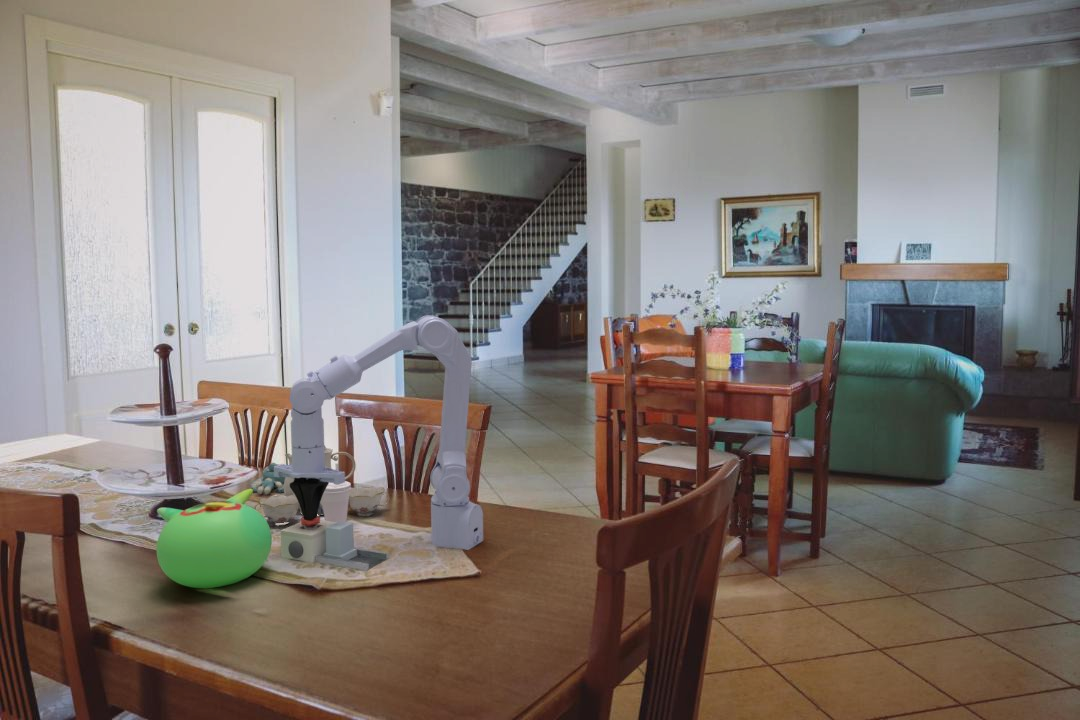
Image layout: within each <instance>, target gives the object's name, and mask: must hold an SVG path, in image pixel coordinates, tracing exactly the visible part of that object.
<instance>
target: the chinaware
mask: <svg viewBox="0 0 1080 720" xmlns="http://www.w3.org/2000/svg"><path fill="white" fill-rule="evenodd" d="M324 449H325V450H324V451H325V467H327V468H331V469H332V460H333V461H335V462H337V461H339V457H338V456H337V455H343V456H344V455H345V456H347V457H348V458H349V459H350V460H351V462H352V468H351V471H349V472H350V473H349V474H348V475H345V481H347V482H349V481H348V479H350V478H351V477H352V476H353V475H354V473H355V471H356V460H355V458H354V457H353V456H352V455H351V454H350V453H348V452H346V451H336V452H334V453H333V451H334V450H333V449H331V448H327V447H326V445H325V444H324ZM284 456H285V457H286V458H287V459H288V465H292V453H291V454H290V453H285V454H284ZM292 482H294V478H290V477H286V478H285V481H284V492H283V493H284V494H277V493H276V494H273V495H270V496H269V497H268V498H264V497H263V498H260V499H258V502H259V503H257V504H256V505H255V506H254V508H253V509H255V510H256V508H257V506H259V507H260V508H262V511H263V513H264V515H265V516H264V515H263V517H264V518H267V519H266V521H267V523H268V522H273V523H275V522H276V523H284V522H290V520H292V519H293V518H294V517H295V516H296V514H297V513H298V510H299V513H300V512H301V513H302V511H301V508H300V505H299V502H298V500H297V498H296V496H295V494H294V492H293V491H292V490H291V488H290V483H292ZM385 494H386V495H387V501H386V502H385V503H383V504H381V500H382V497H383V496H384V495H385ZM389 502H390V495H389V493H388V492H387V491H385V487H381V486H380V487H375V486H373V485H368V484H367V485H362V486H360V487H358V488H357V487H356V488H355V487H351V489H350V490H349V501H348V505H349V506H350V507H351V508H352V510H354V511H355V512H356V513H357V515H358V516H359V517H369V516H371V515H374V513H373V511H379V508H378V507H380V506H381V507H384V506H387V505H388V504H389ZM317 514H318V515H321V514H324V511H323V505H322V499H321V501H320V505H319V509H318V513H317Z"/></svg>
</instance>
